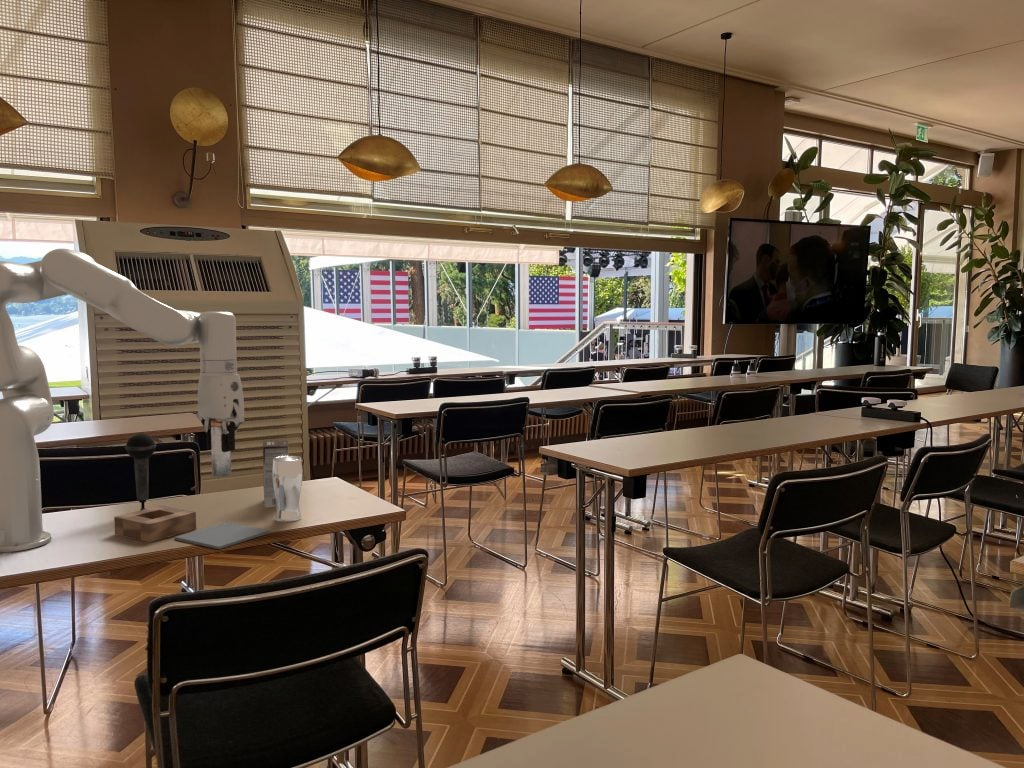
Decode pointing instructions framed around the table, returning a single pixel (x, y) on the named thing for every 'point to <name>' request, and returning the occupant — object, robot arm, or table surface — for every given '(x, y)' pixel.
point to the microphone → (141, 462)
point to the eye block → (155, 523)
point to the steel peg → (219, 451)
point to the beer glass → (287, 487)
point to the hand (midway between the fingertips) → (220, 449)
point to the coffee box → (271, 468)
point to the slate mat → (222, 535)
